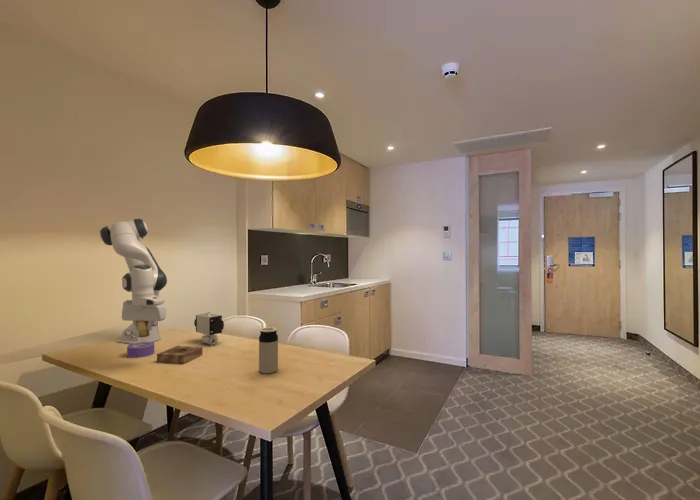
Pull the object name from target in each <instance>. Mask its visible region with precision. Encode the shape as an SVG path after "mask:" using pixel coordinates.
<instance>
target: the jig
mask: <svg viewBox="0 0 700 500" xmlns="http://www.w3.org/2000/svg"><path fill="white" fill-rule="evenodd" d="M202 356H203V347H202V346H192V345H190V346H187V345H176V346H173V347H171V348H168V349H166V350H164V351H161V352H159V353H156V363H159V364H160V363H162V364H176V365H185V364H187V363H189V362H191V361H194V360H195V359H197V358H199V357H202Z"/></svg>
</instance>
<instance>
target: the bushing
mask: <svg viewBox="0 0 700 500" xmlns="http://www.w3.org/2000/svg"><path fill="white" fill-rule="evenodd" d="M148 326H149V321H138V337H147V336H149V331H147V327H148Z"/></svg>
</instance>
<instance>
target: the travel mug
mask: <svg viewBox="0 0 700 500" xmlns="http://www.w3.org/2000/svg"><path fill="white" fill-rule="evenodd" d="M277 331H278V328H277V327H272V326H271V327H269V326H268V327H262V328H260V329H259V332H260V335H259V337H258V372H259V373H262V374H265V373H266V374H267V375H268V373H269V374H272V373H273V374H274V373H276V372H278V370H279V335H278V333H277Z"/></svg>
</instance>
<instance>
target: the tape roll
mask: <svg viewBox="0 0 700 500" xmlns="http://www.w3.org/2000/svg"><path fill="white" fill-rule="evenodd" d="M154 354H155V342H154V341H153V342H139V343H134V344H128V345H127V346H126V357H127V358H131V359H137V358H145V357H149V356H152V355H154Z"/></svg>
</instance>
